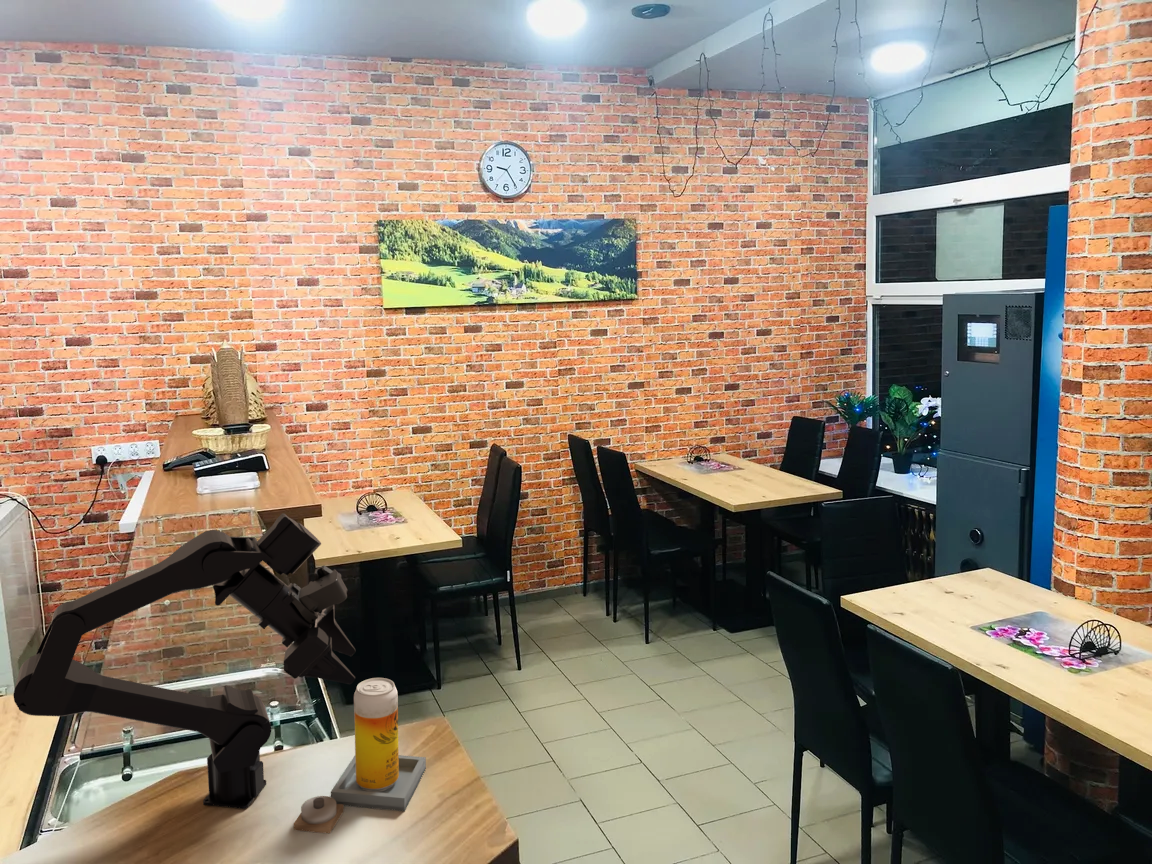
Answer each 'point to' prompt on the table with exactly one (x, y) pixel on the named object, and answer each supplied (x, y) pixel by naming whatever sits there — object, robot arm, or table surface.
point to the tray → (388, 799)
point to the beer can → (376, 734)
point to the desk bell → (318, 815)
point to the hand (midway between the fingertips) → (353, 666)
